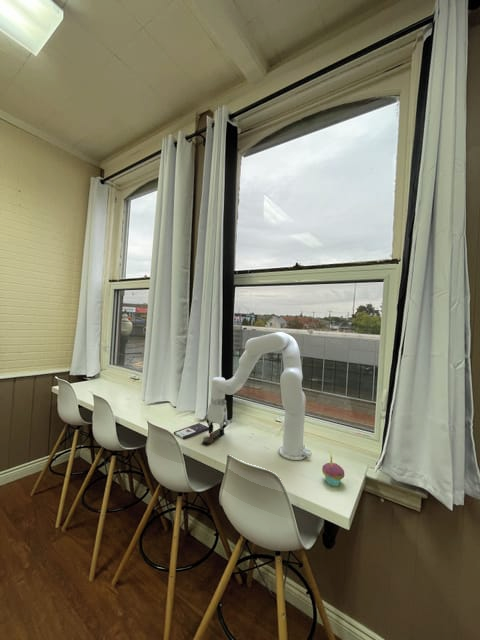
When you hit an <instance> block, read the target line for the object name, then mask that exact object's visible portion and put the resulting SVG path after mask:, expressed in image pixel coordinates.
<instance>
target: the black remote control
mask: <svg viewBox="0 0 480 640" xmlns="http://www.w3.org/2000/svg"><path fill="white" fill-rule="evenodd" d="M219 438H220V437H219V436H217V437H215V438H214V439H213V441H212V442H211V443H205V442H203V441H202V442H201V445H203V446H206V447H207V446H209V445H211V444H212V443H214V441H216V440H218V439H219Z"/></svg>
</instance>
